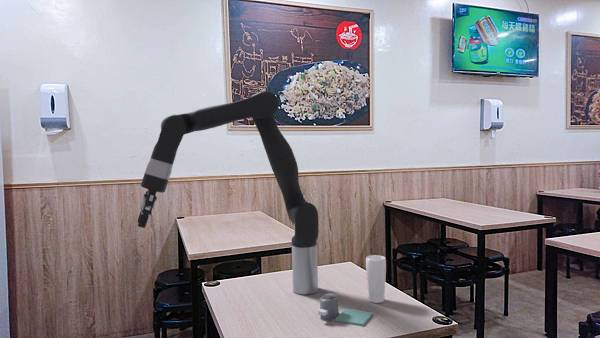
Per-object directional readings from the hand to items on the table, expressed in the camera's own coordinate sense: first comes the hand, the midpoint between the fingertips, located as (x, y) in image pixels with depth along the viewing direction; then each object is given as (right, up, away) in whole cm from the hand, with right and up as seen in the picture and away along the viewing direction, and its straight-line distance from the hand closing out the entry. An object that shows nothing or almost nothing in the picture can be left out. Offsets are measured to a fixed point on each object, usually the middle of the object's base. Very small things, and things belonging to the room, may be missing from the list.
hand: (140, 225), depth 128 cm
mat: (+67, -29, 0) cm, 73 cm away
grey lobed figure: (+59, -29, +1) cm, 66 cm away
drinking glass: (+76, -28, +13) cm, 82 cm away
